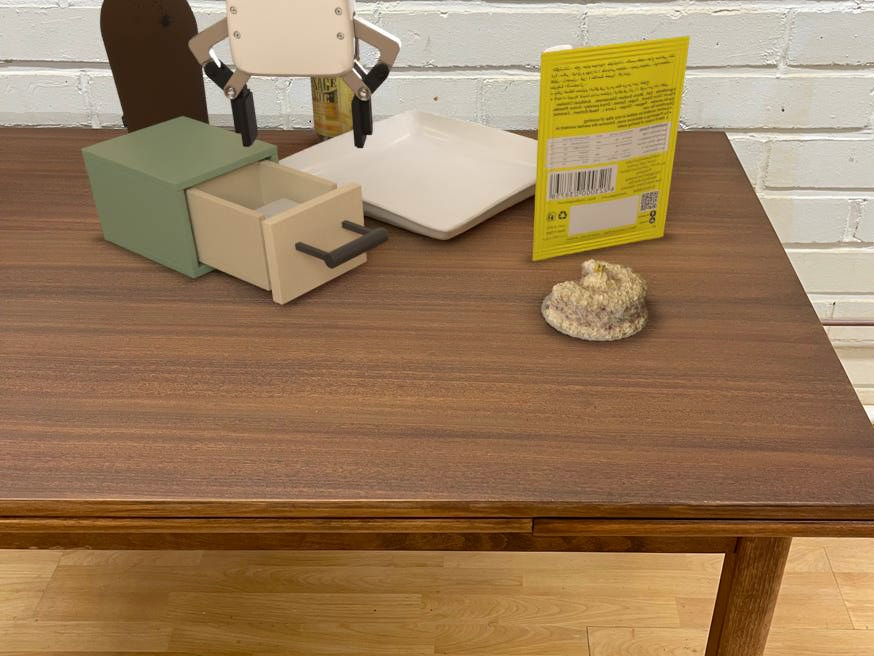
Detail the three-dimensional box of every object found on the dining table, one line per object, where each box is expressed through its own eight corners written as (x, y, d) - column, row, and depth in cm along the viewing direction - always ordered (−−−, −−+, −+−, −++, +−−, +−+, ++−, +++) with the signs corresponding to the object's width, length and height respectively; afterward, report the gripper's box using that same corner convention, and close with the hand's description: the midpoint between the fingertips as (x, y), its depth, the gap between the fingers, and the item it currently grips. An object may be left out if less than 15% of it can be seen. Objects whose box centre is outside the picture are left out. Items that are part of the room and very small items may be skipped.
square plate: (447, 264, 96) (447, 227, 94) (261, 198, 109) (256, 164, 107) (590, 182, 113) (593, 149, 111) (414, 133, 126) (412, 103, 123)
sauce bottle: (306, 141, 123) (287, -30, 111) (345, 130, 127) (332, -37, 114) (336, 155, 120) (320, -20, 107) (375, 143, 123) (364, -28, 110)
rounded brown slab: (235, 150, 121) (200, -75, 105) (187, 180, 113) (142, -59, 97) (163, 140, 123) (119, -82, 108) (112, 168, 116) (56, -66, 100)
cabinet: (288, 235, 101) (277, 145, 95) (194, 279, 93) (175, 183, 87) (199, 201, 108) (182, 115, 102) (104, 239, 100) (80, 148, 94)
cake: (661, 307, 90) (673, 256, 87) (626, 358, 84) (637, 305, 80) (565, 277, 93) (572, 227, 90) (523, 324, 86) (529, 271, 83)
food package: (660, 235, 102) (686, 34, 89) (666, 239, 101) (693, 37, 88) (530, 259, 97) (538, 51, 85) (534, 263, 96) (544, 54, 84)
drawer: (406, 276, 92) (402, 198, 87) (322, 322, 85) (313, 240, 80) (273, 225, 101) (263, 152, 96) (187, 264, 94) (171, 187, 89)
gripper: (399, -91, 75) (408, 129, 86) (181, -93, 75) (217, 126, 86) (390, -74, 69) (401, 159, 80) (153, -76, 70) (196, 156, 80)
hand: (305, 142), depth 83 cm, fingers open, 9 cm apart
